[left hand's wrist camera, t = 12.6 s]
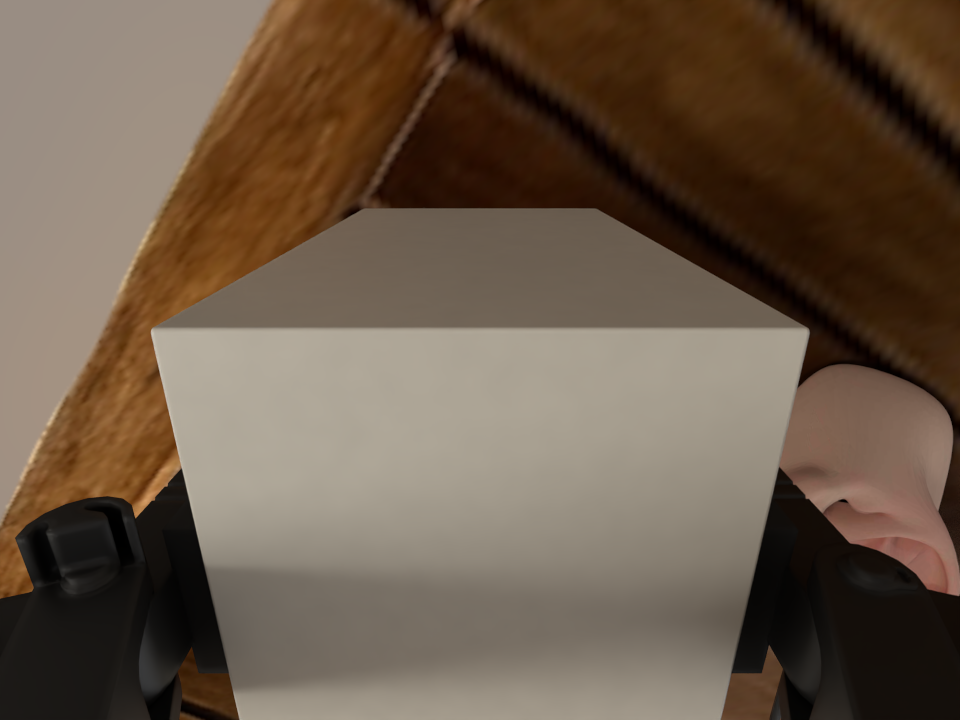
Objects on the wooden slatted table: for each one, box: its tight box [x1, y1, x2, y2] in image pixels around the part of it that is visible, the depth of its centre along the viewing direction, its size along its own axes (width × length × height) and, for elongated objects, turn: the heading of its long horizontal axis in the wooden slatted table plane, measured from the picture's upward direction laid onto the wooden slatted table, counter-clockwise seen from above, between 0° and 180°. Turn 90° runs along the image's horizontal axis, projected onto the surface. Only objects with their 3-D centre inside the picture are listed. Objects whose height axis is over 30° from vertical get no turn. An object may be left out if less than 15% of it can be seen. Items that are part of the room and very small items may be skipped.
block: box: [151, 209, 810, 720], centre depth 13 cm, size 9×7×12 cm
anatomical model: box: [779, 364, 960, 596], centre depth 28 cm, size 13×4×12 cm
